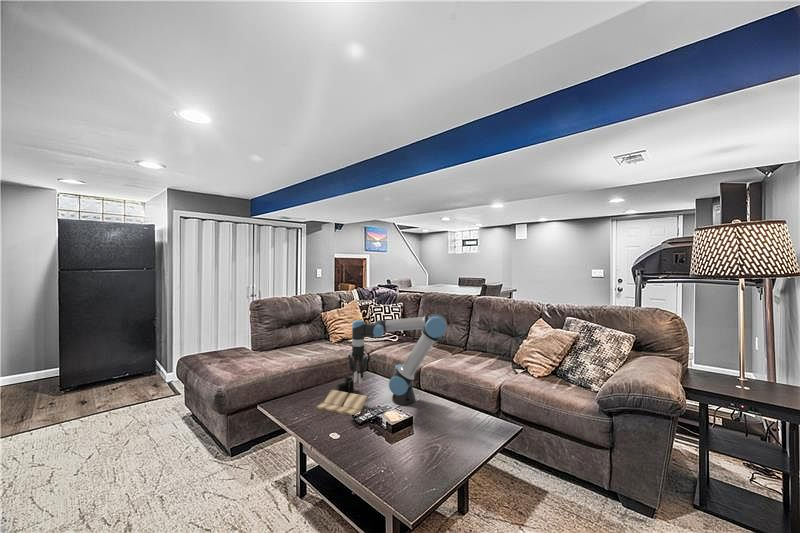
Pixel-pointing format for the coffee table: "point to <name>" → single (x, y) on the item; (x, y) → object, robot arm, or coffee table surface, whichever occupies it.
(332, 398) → the plank
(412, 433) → the coffee table surface
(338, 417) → the coffee table surface
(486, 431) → the coffee table surface
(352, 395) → the plank
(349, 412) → the oak row
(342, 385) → the camera
